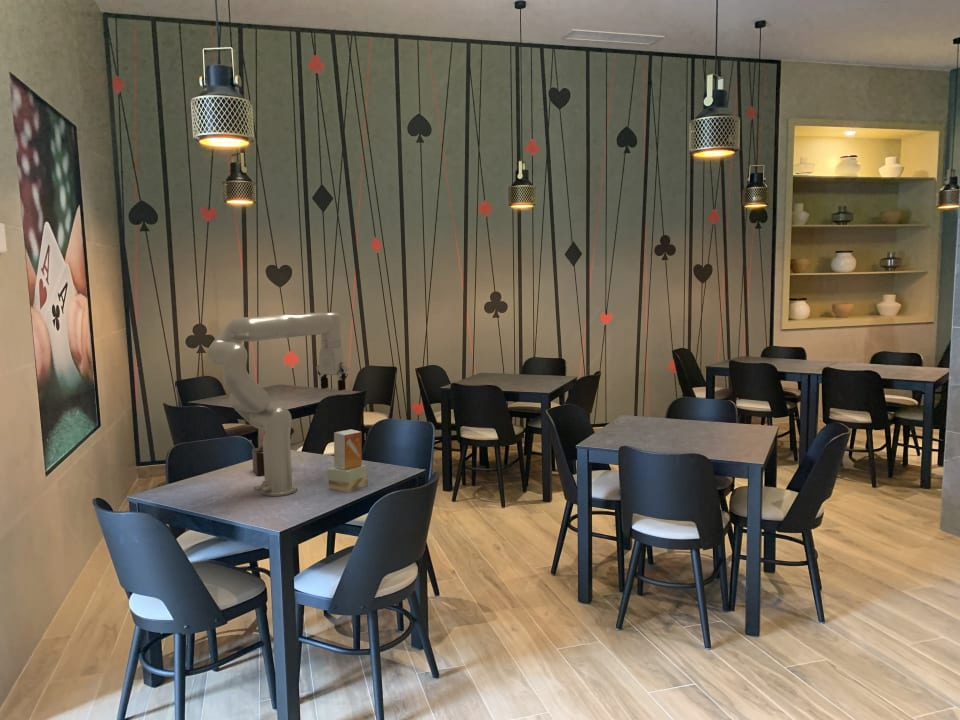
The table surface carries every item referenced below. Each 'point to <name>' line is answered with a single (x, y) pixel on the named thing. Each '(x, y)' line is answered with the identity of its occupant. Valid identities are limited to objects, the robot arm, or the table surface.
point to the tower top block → (346, 474)
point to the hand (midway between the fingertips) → (333, 389)
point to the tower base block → (348, 484)
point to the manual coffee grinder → (260, 459)
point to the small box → (347, 449)
